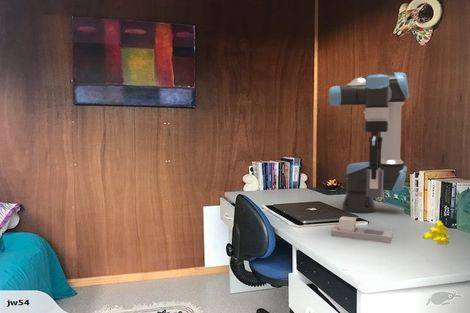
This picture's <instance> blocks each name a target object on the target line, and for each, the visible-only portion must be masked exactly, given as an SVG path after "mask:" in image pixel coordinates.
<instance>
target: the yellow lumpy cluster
mask: <svg viewBox="0 0 470 313" xmlns="http://www.w3.org/2000/svg"><path fill="white" fill-rule="evenodd" d="M449 232H450V231H449V230H448V228H447V227H446V226H445V225H444V223H442V221H441V220H438V221H435V227H434V226H432V227H430V229H429V231H426V232H425V233H424V234H423V235H422V236H423V237H422V238H423V239H425V240H433V241H434V242H436V241H437V243H436V244H437V245H446V244H449V242H450V237H449V235H447V234H449Z"/></svg>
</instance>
